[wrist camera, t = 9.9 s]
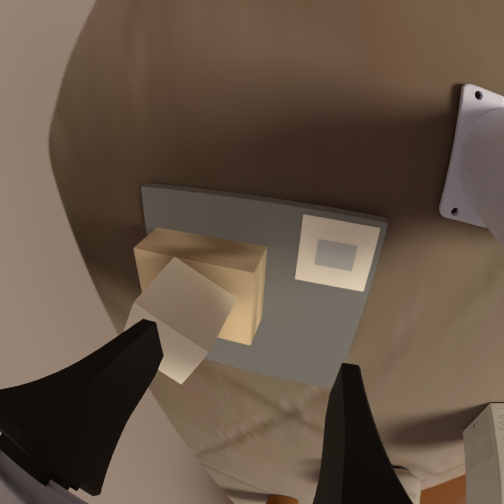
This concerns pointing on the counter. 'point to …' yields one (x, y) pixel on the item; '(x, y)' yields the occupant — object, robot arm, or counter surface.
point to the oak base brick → (212, 272)
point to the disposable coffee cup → (281, 500)
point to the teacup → (409, 484)
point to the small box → (485, 456)
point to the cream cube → (183, 316)
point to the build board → (285, 273)
